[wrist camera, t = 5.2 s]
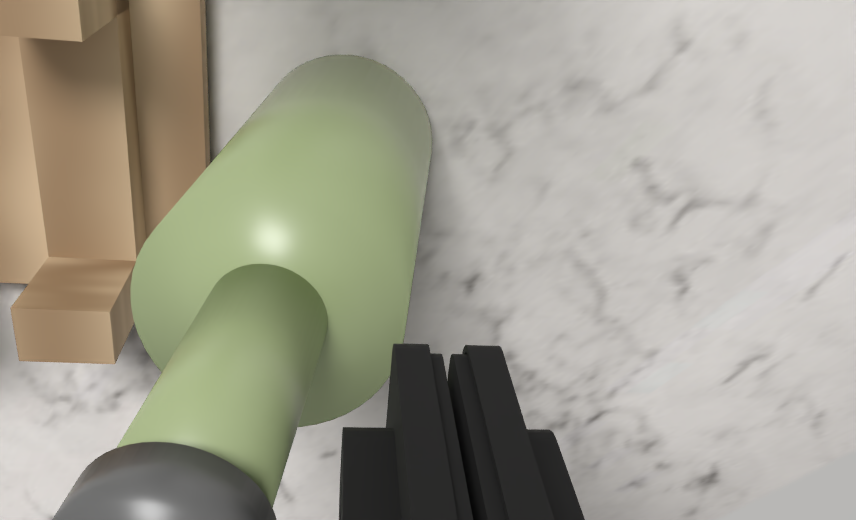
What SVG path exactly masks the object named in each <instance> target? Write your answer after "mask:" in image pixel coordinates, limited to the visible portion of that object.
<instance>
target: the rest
mask: <svg viewBox="0 0 856 520" xmlns="http://www.w3.org/2000/svg"><path fill="white" fill-rule="evenodd" d="M209 165H210V137H209V105H208V73H207V41H206V10H205V0H0V283H22V284H28V285H27V287H26V288H25V289H24V291H23V292H22V293H21V295H20V296H19V297H18V299H17V300H16V301H15V303H14V304H13V305H12V307H11V308H10V309H11V315H12V321H13V327H14V333H15V339H16V345H17V351H18V357H19V361H35V362H66V363H96V364H115V363H116V361H117V359H118V356H119V354H120V352H121V350H122V348H123V346H124V344H125V341H126V339H127V337H128V335H129V333H130V331H131V329H132V326H133V324H134V319H133V314H132V308H131V291H130V287H131V280H132V273H133V269H134V266H135V263H136V260H137V257H138V255H139V253H140V251H141V249H142V247H143V245H144V243H145V241H146V240H147V239H148V237H149V236H150V234H151V233H152V232H153V230H154V229H155V228H156V227H157V226H158V224H159V223H160V222H161V221H162V220H163V219H164V217H165V216H166V215H167V214H168V213H169V211H170V210H171V209H172V208H173V207H174V206H175V204H176V203H177V202H178V201H179V200H180V199H181V197H182V196H183V195H184V194H185V193H186V192H187V190H188V189H189V188H190V187H191V186H192V185H193V183H194V182H195V181H196V180H197V179H198V178H199V176H200V175H201V174H202V173H203V172H204V170H205V169H206V168H207V167H208V166H209Z"/></svg>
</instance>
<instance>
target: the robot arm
mask: <svg viewBox="0 0 856 520" xmlns="http://www.w3.org/2000/svg"><path fill="white" fill-rule="evenodd" d="M339 520H585V519H584V516H583V514H582V511H581V508H580V505H579V502H578V499H577V497H576V494H575V491H574V488H573V485H572V482H571V480H570V477H569V474H568V471H567V468H566V465H565V463H564V460H563V457H562V454H561V451H560V448H559V446H558V443H557V440H556V438H555V436H554V434H553V432H552V431H550V430H527V429H526V426H525V423H524V419H523V416H522V413H521V410H520V406H519V403H518V400H517V397H516V393H515V390H514V387H513V384H512V380H511V377H510V374H509V371H508V367H507V364H506V361H505V358H504V354H503V351H502V349H501V347H500V346H477V345H465V347H464V349H463V354H452V355H451V358H450V364H449V372H448V381H447V377H446V372H445V366H444V361H443V356H442V354H430V348H429V345H428V344H393V349H392V359H391V371H390V384H389V397H388V409H387V422H386V428H353V427H343V432H342V450H341V472H340V500H339Z"/></svg>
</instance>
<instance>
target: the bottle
mask: <svg viewBox="0 0 856 520" xmlns="http://www.w3.org/2000/svg"><path fill="white" fill-rule="evenodd" d="M431 152H432V132H431V126H430V122H429V118H428V115H427V113H426V110H425V107H424V106H423V104H422V102H421V100H420V98H419V97H418V95H417V94H416V92H415V91H414V90H413V88H412V87H411V86H410V85H409V84H408V83H407V82H406V81H405V80H404V79H403V78H402V77H401V76H399V75H398V74H397V73H396V72H394V71H393V70H391V69H390V68H388V67H386V66H385V65H382V64H380V63H378V62H376V61H374V60H370V59H367V58H364V57H359V56H353V55H330V56H324V57H320V58H316V59H313V60H311V61H308V62H306V63H304V64H302V65H300V66H299V67H297V68H295V69H294V70H293V71H291V72H290V73H289V74H287V75H286V76H285V78H284V79H283V80H282V81H281V82H280V83H279V84H278V85H277V86H276V87H275V88H274V90H273V91H272V92H271V93H270V94H269V96H268V97H267V98H266V99H265V100H264V101H263V103H262V104H261V105H260V106H259V107H258V108H257V110H256V111H255V112H254V113H253V114H252V115H251V117H250V118H249V119H248V120H247V121H246V122H245V124H244V125H243V126H242V127H241V128H240V129H239V131H238V132H237V133H236V134H235V135H234V137H233V138H232V139H231V140H230V141H229V142H228V144H227V145H226V146H225V147H224V148H223V149H222V151H221V152H220V153H219V154H218V155H217V156H216V158H215V159H214V160H213V161H212V162H211V163H210V165H209V166H208V167H207V168H206V169H205V170H204V172H203V173H202V174H201V175H200V176H199V178H198V179H197V180H196V181H195V182H194V183H193V185H192V186H191V187H190V188H189V189H188V190H187V192H186V193H185V194H184V195H183V196H182V197H181V199H180V200H179V201H178V202H177V203H176V204H175V206H174V207H173V208H172V209H171V210H170V211H169V213H168V214H167V215H166V216H165V217H164V219H163V220H162V221H161V222H160V223H159V224H158V226H157V227H156V228H155V229H154V230H153V232H152V233H151V234H150V236H149V237H148V239H147V240H146V241H145V243H144V245H143V247H142V249H141V251H140V253H139V255H138V257H137V260H136V263H135V266H134V269H133V273H132V280H131V287H130V291H131V308H132V314H133V319H134V323H135V326H136V329H137V332H138V335H139V337H140V339H141V341H142V343H143V346H144V348H145V349H146V351H147V353H148V354H149V356H150V357H151V359H152V360H153V362H154V363H155V364H156V366H157V367H158V368H159V369H160V371H161V372H162V373H161V375H160V377H159V378H158V380H157V382H156V383H155V385H154V387H153V388H152V390H151V392H150V393H149V395H148V397H147V398H146V400H145V402H144V403H143V405H142V407H141V408H140V410H139V412H138V413H137V415H136V417H135V418H134V420H133V421H132V423H131V425H130V426H129V428H128V430H127V431H126V433H125V435H124V436H123V438H122V440H121V441H120V443H119V445H118V446H117V448H116V449H113V450H111V451H109V452H106V453H105V454H103V455H101V456H100V457H98V458H97V459H95V460H94V461H93V462H92V463H91V464H90V465H88V466H87V468H86V469H85V470H84V471H83V472H82V474H81V475H80V477H79V478H78V480H77V481H76V483H75V485H74V486H73V488H72V489H71V491H70V492H69V494H68V496H67V497H66V499H65V500H64V502H63V504H62V505H61V507H60V508H59V510H58V511H57V513H56V515H55V516H54V518H53V519H52V520H276V516H275V513H274V511H273V509H272V508H273V504H274V501H275V498H276V495H277V491H278V488H279V485H280V482H281V479H282V475H283V472H284V469H285V466H286V462H287V459H288V456H289V453H290V450H291V446H292V443H293V440H294V437H295V434H296V430H297V427H303V426H309V425H315V424H319V423H323V422H326V421H330V420H333V419H335V418H338V417H340V416H343V415H345V414H347V413H349V412H351V411H352V410H354V409H356V408H358V407H359V406H361V405H362V404H363V403H365V402H366V401H367V400H368V399H370V398H371V397H372V396H373V395H374V394H375V393H376V392H377V391H378V390H379V389H380V388H381V387H382V386H383V384H384V383H385V382H386V380H387V379H388V378H389V376H390V371H391V359H392V349H393V344H403V341H404V335H405V328H406V322H407V315H408V308H409V301H410V295H411V288H412V281H413V274H414V267H415V261H416V254H417V247H418V240H419V234H420V227H421V220H422V213H423V207H424V200H425V193H426V186H427V179H428V173H429V166H430V159H431Z"/></svg>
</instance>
